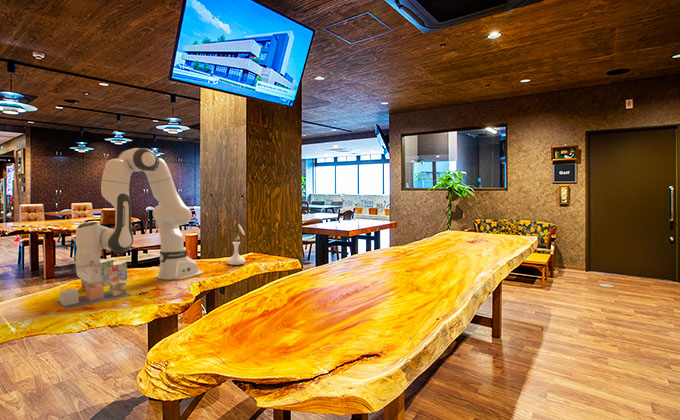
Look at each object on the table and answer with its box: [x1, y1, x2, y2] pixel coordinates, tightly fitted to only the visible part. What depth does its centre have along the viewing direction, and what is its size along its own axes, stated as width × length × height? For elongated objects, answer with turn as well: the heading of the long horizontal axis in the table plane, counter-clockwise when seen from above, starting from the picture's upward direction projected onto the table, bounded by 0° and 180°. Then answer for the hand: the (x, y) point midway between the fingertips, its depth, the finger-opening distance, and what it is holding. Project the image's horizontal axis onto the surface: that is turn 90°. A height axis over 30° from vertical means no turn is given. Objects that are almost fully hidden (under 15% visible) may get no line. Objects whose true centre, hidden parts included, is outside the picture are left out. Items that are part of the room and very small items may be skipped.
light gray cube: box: [59, 288, 80, 306], centre depth 148 cm, size 5×5×5 cm
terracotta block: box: [85, 284, 105, 300], centre depth 155 cm, size 5×5×5 cm
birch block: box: [109, 280, 127, 296], centre depth 162 cm, size 5×5×5 cm
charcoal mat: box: [56, 290, 133, 310], centre depth 155 cm, size 24×14×1 cm, turn 141°
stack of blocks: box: [80, 258, 128, 290], centre depth 177 cm, size 21×6×12 cm, turn 171°
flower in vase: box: [226, 223, 246, 266], centre depth 227 cm, size 13×11×25 cm
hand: (89, 290), depth 160 cm, fingers closed
